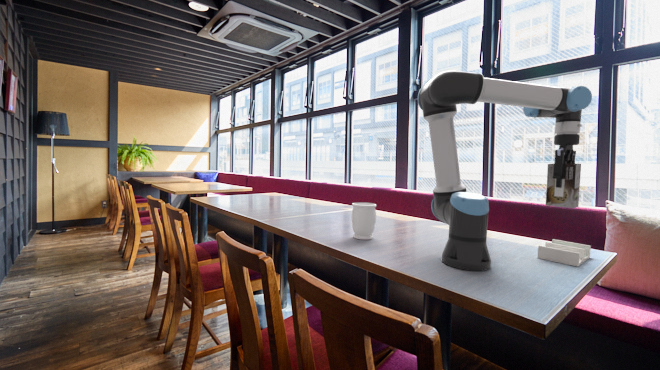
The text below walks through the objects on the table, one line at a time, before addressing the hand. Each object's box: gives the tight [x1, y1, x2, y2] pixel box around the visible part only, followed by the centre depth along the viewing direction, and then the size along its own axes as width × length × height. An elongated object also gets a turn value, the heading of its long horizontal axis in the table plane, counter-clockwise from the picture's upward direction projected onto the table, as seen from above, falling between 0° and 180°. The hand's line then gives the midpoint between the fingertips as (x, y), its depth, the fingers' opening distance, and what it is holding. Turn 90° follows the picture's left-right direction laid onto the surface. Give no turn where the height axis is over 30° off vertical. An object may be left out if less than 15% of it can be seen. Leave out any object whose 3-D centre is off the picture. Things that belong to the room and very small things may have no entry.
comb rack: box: [537, 238, 592, 267], centre depth 118 cm, size 12×18×4 cm
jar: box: [351, 201, 378, 241], centre depth 140 cm, size 11×10×15 cm
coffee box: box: [545, 163, 582, 209], centre depth 121 cm, size 9×6×16 cm
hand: (562, 195), depth 121 cm, fingers closed on coffee box, 7 cm apart
